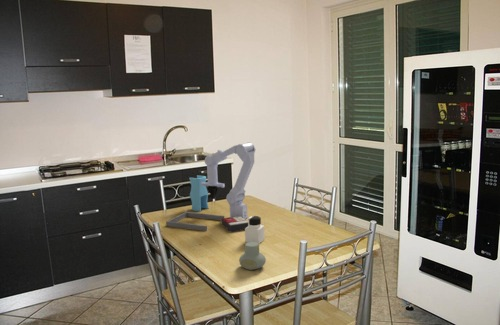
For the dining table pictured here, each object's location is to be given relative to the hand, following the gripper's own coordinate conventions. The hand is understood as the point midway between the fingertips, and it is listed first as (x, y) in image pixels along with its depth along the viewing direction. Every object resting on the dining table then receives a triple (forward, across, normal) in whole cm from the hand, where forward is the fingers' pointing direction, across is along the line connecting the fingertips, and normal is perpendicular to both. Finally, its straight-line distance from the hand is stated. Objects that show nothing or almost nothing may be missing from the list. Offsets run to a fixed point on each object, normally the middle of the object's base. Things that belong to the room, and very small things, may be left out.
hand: (213, 198), depth 266 cm
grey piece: (+9, -1, -18) cm, 20 cm away
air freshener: (+10, +53, -62) cm, 82 cm away
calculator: (+10, +22, -16) cm, 29 cm away
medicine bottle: (+10, +41, -33) cm, 53 cm away
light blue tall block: (+10, -14, +7) cm, 18 cm away
